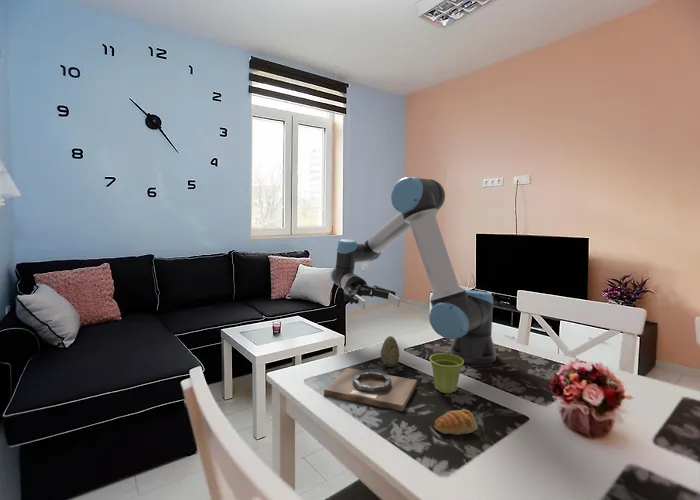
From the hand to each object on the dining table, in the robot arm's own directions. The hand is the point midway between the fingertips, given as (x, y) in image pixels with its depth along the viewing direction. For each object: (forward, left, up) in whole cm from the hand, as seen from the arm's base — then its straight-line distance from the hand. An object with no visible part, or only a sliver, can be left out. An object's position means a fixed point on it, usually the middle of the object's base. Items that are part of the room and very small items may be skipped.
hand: (381, 303), depth 129 cm
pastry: (-29, +33, -20) cm, 48 cm away
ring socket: (-5, +23, -18) cm, 29 cm away
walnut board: (-5, +23, -19) cm, 30 cm away
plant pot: (-24, +14, -19) cm, 33 cm away
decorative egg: (-5, +5, -19) cm, 20 cm away
